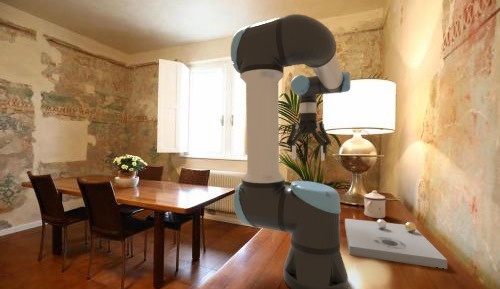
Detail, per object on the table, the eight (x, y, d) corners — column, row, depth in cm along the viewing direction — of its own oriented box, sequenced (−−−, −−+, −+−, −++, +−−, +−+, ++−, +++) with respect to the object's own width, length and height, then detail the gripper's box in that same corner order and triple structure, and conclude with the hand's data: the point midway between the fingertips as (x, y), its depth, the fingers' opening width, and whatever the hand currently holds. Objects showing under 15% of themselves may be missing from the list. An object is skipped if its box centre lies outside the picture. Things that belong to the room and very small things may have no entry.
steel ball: (387, 230, 82) (387, 221, 82) (377, 229, 83) (377, 220, 83) (385, 227, 85) (385, 218, 85) (375, 226, 87) (375, 217, 87)
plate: (447, 269, 61) (447, 259, 61) (349, 254, 70) (349, 246, 70) (412, 232, 88) (412, 225, 88) (344, 224, 96) (344, 218, 96)
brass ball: (417, 234, 79) (417, 224, 79) (406, 233, 80) (406, 223, 80) (414, 230, 82) (414, 221, 82) (403, 229, 84) (403, 220, 84)
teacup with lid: (368, 211, 115) (369, 188, 115) (389, 216, 108) (389, 191, 108) (357, 216, 107) (357, 191, 107) (377, 221, 100) (378, 194, 100)
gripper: (338, 112, 100) (338, 160, 100) (286, 116, 115) (286, 158, 115) (333, 109, 94) (333, 161, 94) (279, 114, 109) (279, 159, 109)
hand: (307, 160), depth 105 cm, fingers open, 13 cm apart
